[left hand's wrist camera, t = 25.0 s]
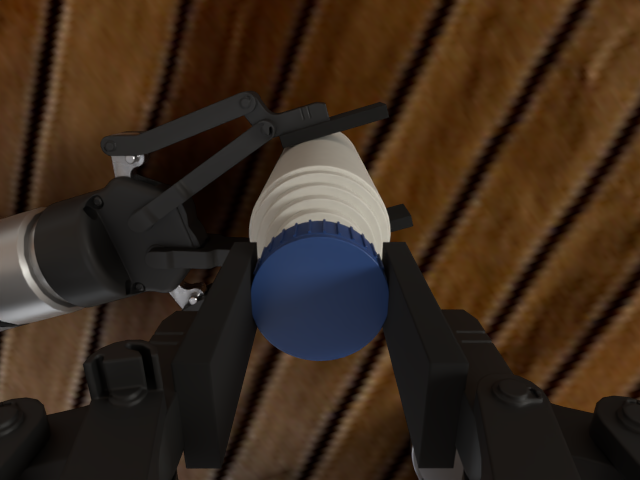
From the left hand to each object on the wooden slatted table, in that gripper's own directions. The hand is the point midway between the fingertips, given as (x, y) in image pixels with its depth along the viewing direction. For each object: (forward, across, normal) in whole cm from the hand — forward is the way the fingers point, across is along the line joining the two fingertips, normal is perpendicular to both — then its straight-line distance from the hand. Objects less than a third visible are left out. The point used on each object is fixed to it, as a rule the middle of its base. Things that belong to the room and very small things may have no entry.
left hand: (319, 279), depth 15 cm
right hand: (+14, -5, -1) cm, 15 cm away
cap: (-1, 0, 0) cm, 1 cm away
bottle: (+20, 0, 0) cm, 20 cm away
